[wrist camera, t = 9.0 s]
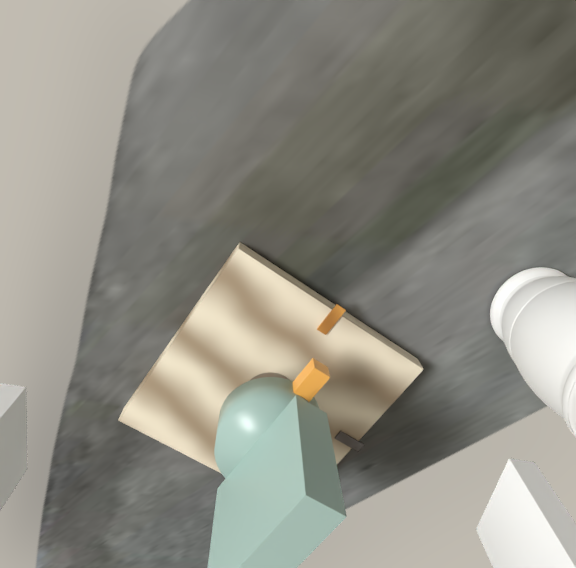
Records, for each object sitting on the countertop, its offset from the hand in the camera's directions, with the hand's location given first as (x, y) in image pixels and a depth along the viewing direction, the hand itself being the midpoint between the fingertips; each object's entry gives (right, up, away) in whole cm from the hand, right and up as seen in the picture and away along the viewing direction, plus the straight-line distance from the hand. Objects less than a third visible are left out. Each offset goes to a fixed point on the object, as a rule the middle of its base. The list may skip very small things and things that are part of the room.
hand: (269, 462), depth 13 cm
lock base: (-1, -5, +35) cm, 36 cm away
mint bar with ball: (-1, -7, +29) cm, 30 cm away
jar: (+24, +3, +34) cm, 41 cm away
